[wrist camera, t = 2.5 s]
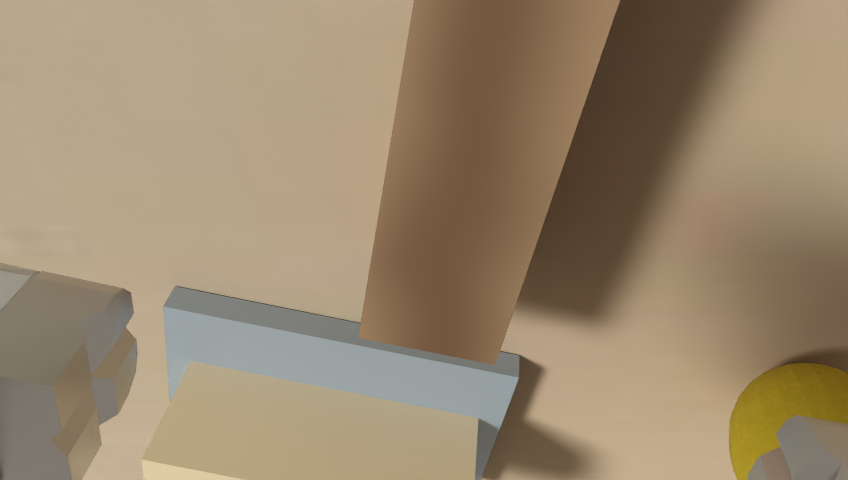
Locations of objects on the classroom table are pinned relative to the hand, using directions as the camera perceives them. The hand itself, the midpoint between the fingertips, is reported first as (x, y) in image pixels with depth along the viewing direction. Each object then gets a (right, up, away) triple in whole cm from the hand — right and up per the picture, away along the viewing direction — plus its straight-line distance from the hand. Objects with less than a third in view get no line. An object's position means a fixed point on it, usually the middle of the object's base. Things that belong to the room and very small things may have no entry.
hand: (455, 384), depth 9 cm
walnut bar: (+2, +9, +12) cm, 15 cm away
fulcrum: (-4, -5, +22) cm, 23 cm away
